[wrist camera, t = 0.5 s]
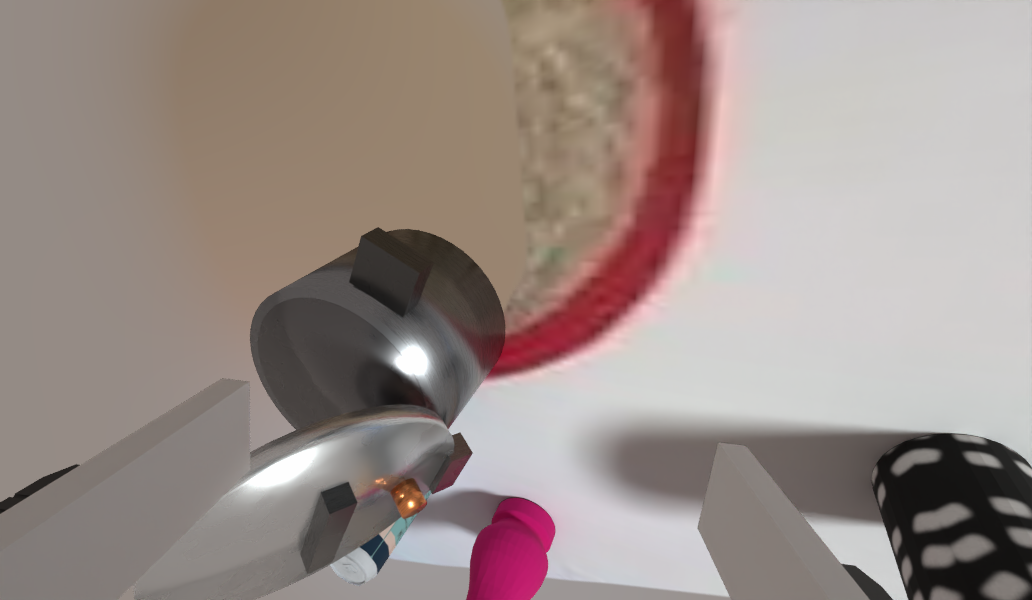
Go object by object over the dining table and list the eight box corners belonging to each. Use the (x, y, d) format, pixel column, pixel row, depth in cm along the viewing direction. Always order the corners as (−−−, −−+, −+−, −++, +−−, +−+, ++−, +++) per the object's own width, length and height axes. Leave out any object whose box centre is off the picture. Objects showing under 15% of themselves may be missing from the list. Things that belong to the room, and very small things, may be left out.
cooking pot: (383, 154, 36) (266, 192, 27) (555, 259, 35) (493, 337, 25) (330, 351, 48) (238, 423, 39) (455, 434, 47) (390, 528, 38)
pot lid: (116, 477, 17) (129, 553, 15) (493, 371, 28) (520, 409, 27) (138, 633, 26) (147, 689, 24) (416, 506, 37) (433, 539, 36)
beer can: (392, 455, 52) (314, 551, 42) (423, 448, 50) (348, 548, 40) (416, 488, 53) (345, 589, 44) (447, 483, 51) (380, 589, 41)
